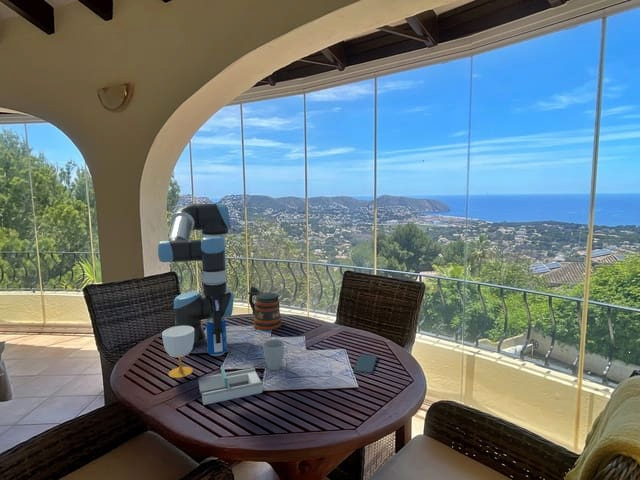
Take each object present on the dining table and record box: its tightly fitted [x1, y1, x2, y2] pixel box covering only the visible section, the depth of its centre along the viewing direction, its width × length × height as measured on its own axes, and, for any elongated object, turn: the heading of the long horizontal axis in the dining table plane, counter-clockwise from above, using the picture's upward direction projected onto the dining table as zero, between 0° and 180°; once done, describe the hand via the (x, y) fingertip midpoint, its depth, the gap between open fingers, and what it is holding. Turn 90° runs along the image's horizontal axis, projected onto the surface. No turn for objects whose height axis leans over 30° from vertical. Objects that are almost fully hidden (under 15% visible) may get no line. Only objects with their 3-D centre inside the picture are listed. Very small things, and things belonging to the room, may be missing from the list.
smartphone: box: [353, 353, 378, 375], centre depth 154 cm, size 8×2×15 cm
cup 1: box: [161, 325, 194, 379], centre depth 147 cm, size 12×12×17 cm
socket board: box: [199, 367, 263, 406], centre depth 135 cm, size 12×20×4 cm, turn 112°
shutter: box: [197, 366, 228, 395], centre depth 132 cm, size 9×9×4 cm
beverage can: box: [205, 317, 228, 357], centre depth 130 cm, size 6×6×12 cm
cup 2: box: [263, 339, 285, 371], centre depth 152 cm, size 8×8×10 cm
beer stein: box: [247, 285, 282, 331], centre depth 199 cm, size 19×15×20 cm
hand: (217, 347), depth 131 cm, fingers closed on beverage can, 6 cm apart
